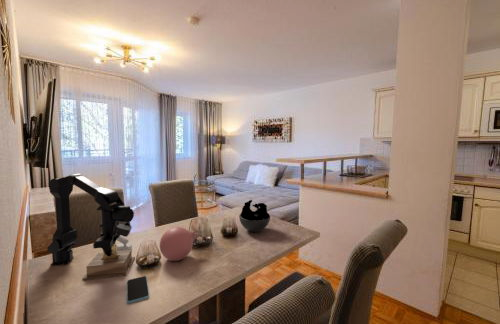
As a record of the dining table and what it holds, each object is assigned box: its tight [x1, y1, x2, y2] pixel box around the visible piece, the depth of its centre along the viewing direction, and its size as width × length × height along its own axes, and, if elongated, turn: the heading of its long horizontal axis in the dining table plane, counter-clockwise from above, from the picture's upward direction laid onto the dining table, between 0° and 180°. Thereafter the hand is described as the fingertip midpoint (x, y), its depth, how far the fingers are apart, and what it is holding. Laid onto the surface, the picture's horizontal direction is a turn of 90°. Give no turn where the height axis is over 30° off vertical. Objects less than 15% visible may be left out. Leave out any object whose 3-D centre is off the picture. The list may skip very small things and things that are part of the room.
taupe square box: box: [82, 249, 136, 281], centre depth 102 cm, size 15×16×5 cm
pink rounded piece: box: [159, 226, 201, 262], centre depth 112 cm, size 15×20×15 cm
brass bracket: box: [102, 243, 118, 260], centre depth 101 cm, size 2×5×10 cm, turn 103°
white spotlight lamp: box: [115, 234, 133, 251], centre depth 119 cm, size 9×10×10 cm
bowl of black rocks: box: [238, 199, 271, 233], centre depth 147 cm, size 20×20×19 cm
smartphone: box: [126, 275, 150, 304], centre depth 88 cm, size 7×1×15 cm
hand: (110, 254), depth 101 cm, fingers open, 3 cm apart
